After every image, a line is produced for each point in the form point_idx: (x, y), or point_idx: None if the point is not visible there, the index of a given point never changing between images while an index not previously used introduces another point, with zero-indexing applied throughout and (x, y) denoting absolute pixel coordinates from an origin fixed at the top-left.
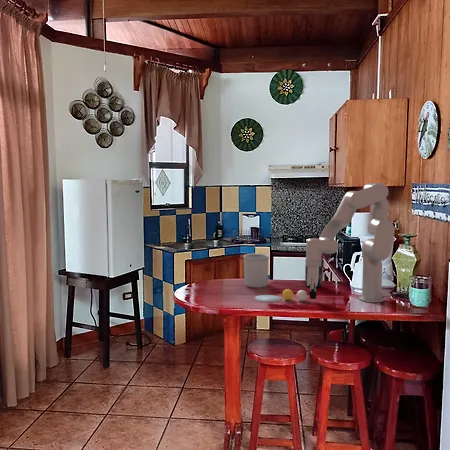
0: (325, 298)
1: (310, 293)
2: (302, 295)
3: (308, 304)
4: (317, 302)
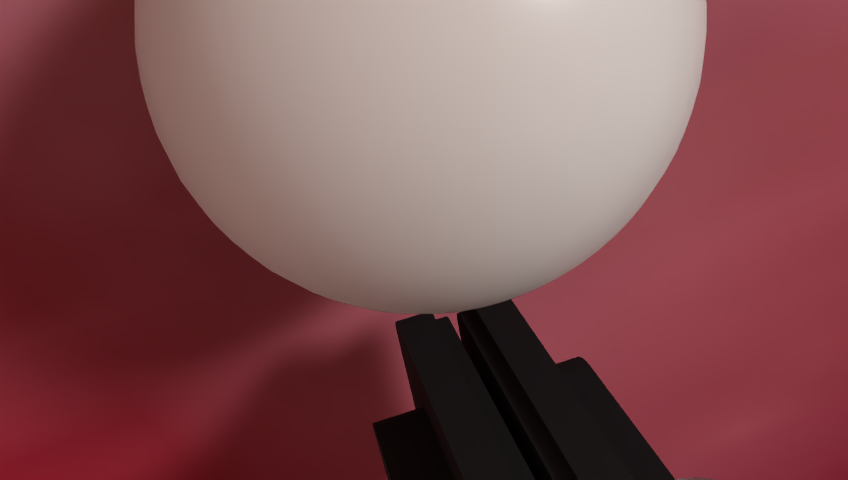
0: (818, 437)
1: (454, 467)
2: (182, 179)
3: (48, 340)
4: None
